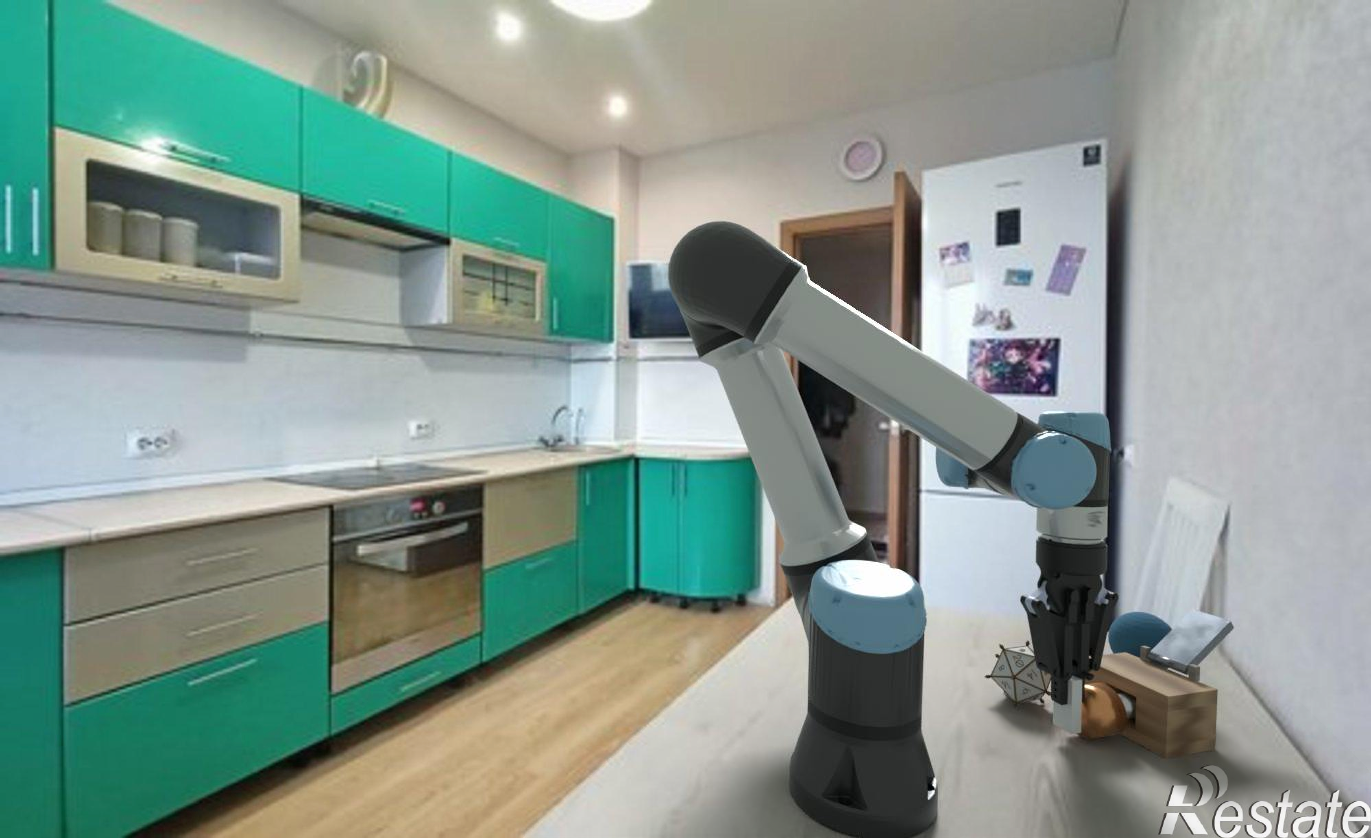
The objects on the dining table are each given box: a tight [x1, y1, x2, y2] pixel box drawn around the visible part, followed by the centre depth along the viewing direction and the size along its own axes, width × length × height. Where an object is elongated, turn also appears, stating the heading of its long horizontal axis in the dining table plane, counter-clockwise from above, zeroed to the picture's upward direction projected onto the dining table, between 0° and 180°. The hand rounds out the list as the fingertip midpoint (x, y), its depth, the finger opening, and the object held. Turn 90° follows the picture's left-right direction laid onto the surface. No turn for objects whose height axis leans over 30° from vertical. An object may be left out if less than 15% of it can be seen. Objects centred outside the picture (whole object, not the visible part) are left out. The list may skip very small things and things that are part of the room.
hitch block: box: [1085, 646, 1219, 759], centre depth 84 cm, size 8×12×9 cm
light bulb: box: [1107, 611, 1173, 670], centre depth 93 cm, size 8×8×12 cm
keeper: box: [1148, 609, 1235, 676], centre depth 86 cm, size 10×5×1 cm
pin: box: [1075, 683, 1136, 740], centre depth 83 cm, size 16×6×6 cm, turn 106°
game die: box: [984, 639, 1051, 710], centre depth 91 cm, size 9×8×10 cm
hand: (1066, 727), depth 80 cm, fingers closed
